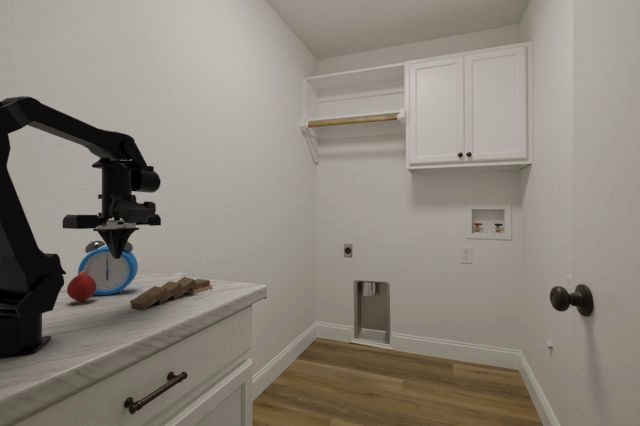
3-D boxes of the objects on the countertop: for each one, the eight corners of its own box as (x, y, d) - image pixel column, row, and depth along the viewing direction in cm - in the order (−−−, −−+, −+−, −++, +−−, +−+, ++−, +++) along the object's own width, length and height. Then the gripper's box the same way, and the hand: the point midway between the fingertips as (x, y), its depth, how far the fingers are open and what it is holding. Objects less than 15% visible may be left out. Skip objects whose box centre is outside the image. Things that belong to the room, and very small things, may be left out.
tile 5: (193, 290, 87) (212, 285, 93) (182, 288, 89) (201, 283, 95) (193, 295, 87) (212, 290, 93) (182, 293, 89) (201, 288, 95)
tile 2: (158, 298, 77) (180, 283, 82) (147, 296, 79) (169, 281, 84) (160, 304, 77) (182, 288, 83) (149, 301, 80) (171, 285, 85)
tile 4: (192, 285, 86) (209, 280, 93) (180, 283, 88) (198, 278, 95) (192, 290, 86) (209, 285, 93) (180, 289, 88) (198, 284, 95)
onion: (80, 306, 75) (80, 273, 75) (60, 305, 76) (61, 272, 76) (101, 300, 80) (101, 269, 80) (83, 298, 82) (83, 268, 82)
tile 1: (141, 304, 72) (165, 288, 78) (129, 301, 74) (154, 286, 80) (143, 309, 73) (167, 293, 78) (131, 307, 75) (156, 291, 80)
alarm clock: (77, 298, 82) (77, 242, 82) (85, 292, 88) (86, 239, 88) (133, 294, 86) (133, 240, 86) (138, 288, 92) (138, 238, 92)
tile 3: (173, 294, 81) (194, 279, 86) (163, 291, 83) (184, 276, 88) (175, 299, 81) (196, 283, 86) (165, 296, 84) (186, 281, 89)
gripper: (93, 186, 58) (93, 268, 58) (176, 192, 75) (176, 255, 75) (61, 187, 63) (61, 264, 63) (146, 192, 80) (145, 252, 80)
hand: (116, 258), depth 70 cm, fingers closed
